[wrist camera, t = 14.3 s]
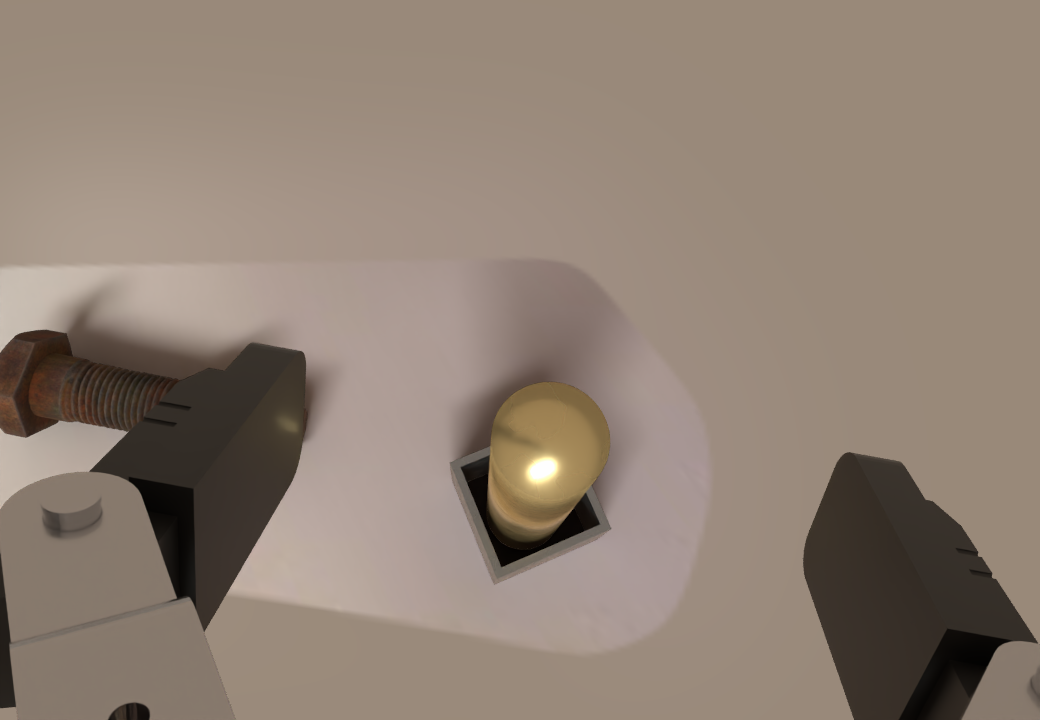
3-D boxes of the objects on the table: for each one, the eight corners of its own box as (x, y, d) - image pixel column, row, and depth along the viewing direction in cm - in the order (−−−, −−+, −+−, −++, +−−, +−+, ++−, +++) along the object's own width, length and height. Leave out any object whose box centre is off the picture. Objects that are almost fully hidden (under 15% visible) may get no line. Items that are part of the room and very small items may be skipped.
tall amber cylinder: (503, 561, 43) (519, 518, 26) (475, 492, 44) (472, 408, 27) (571, 532, 44) (629, 471, 27) (541, 464, 45) (579, 364, 28)
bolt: (308, 461, 46) (46, 410, 46) (321, 376, 45) (54, 324, 45) (277, 498, 41) (-22, 440, 40) (292, 402, 40) (-15, 341, 39)
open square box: (494, 584, 43) (496, 578, 38) (452, 480, 45) (449, 462, 40) (596, 539, 44) (611, 528, 39) (551, 439, 46) (560, 417, 41)
